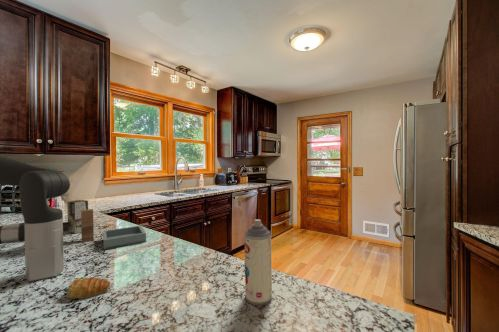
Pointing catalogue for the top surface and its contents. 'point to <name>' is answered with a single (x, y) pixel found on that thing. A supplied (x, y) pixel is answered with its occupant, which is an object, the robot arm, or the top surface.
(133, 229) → the slate tray
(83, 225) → the walnut block
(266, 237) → the aerosol can
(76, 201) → the coffee box
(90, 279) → the pastry
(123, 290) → the top surface
